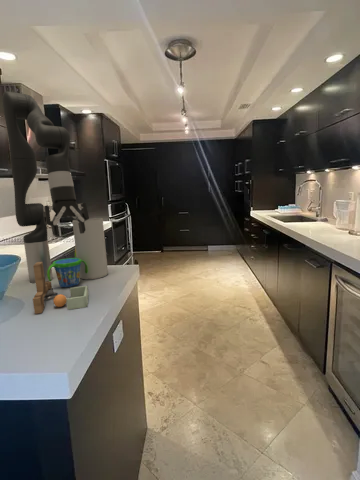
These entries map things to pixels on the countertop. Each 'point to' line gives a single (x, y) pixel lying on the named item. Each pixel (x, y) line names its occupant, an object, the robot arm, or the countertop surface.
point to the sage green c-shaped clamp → (78, 297)
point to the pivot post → (50, 294)
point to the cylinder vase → (91, 248)
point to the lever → (40, 288)
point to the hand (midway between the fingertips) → (70, 235)
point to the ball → (59, 300)
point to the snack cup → (67, 271)
